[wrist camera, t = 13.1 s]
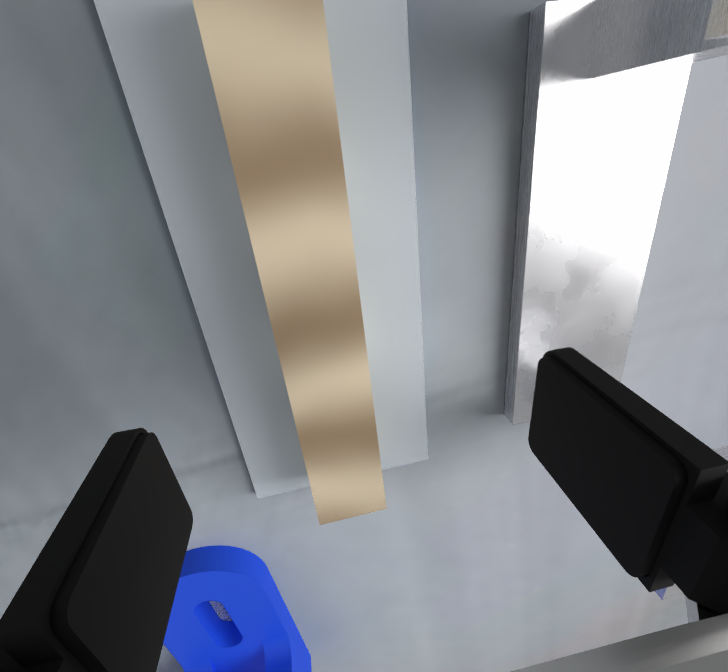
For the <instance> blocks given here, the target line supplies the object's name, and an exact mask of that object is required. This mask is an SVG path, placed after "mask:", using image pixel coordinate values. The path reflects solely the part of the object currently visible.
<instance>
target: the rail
mask: <svg viewBox="0 0 728 672" xmlns="http://www.w3.org/2000/svg"><path fill="white" fill-rule="evenodd" d="M192 1H193V5H194V9H195V13H196V17H197V22H198V26H199V30H200V34H201V38H202V42H203V46H204V50H205V54H206V59H207V63H208V67H209V71H210V75H211V79H212V83H213V87H214V91H215V96H216V100H217V104H218V108H219V112H220V116H221V120H222V124H223V129H224V133H225V137H226V141H227V145H228V149H229V153H230V157H231V161H232V166H233V170H234V174H235V178H236V182H237V186H238V190H239V194H240V198H241V203H242V207H243V211H244V215H245V219H246V223H247V227H248V231H249V235H250V240H251V244H252V248H253V252H254V256H255V260H256V264H257V268H258V272H259V277H260V281H261V285H262V289H263V293H264V297H265V301H266V305H267V309H268V314H269V318H270V322H271V326H272V330H273V334H274V338H275V342H276V346H277V351H278V355H279V359H280V363H281V367H282V371H283V375H284V379H285V383H286V388H287V392H288V396H289V400H290V404H291V408H292V412H293V416H294V420H295V425H296V429H297V433H298V437H299V441H300V445H301V449H302V453H303V457H304V462H305V466H306V470H307V474H308V478H309V482H310V486H311V490H312V494H313V499H314V503H315V507H316V511H317V515H318V519H319V523H320V525H322V524H326V523H330V522H334V521H338V520H342V519H346V518H350V517H354V516H359V515H363V514H367V513H371V512H375V511H379V510H383V509H387V508H386V500H385V492H384V484H383V476H382V468H381V460H380V452H379V444H378V436H377V428H376V420H375V412H374V404H373V396H372V388H371V380H370V372H369V364H368V356H367V348H366V340H365V332H364V324H363V317H362V309H361V301H360V293H359V285H358V277H357V269H356V261H355V253H354V245H353V237H352V229H351V221H350V213H349V205H348V197H347V189H346V181H345V173H344V165H343V157H342V149H341V141H340V133H339V125H338V117H337V109H336V101H335V93H334V85H333V77H332V69H331V61H330V53H329V45H328V37H327V29H326V21H325V13H324V5H323V0H192Z"/></svg>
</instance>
